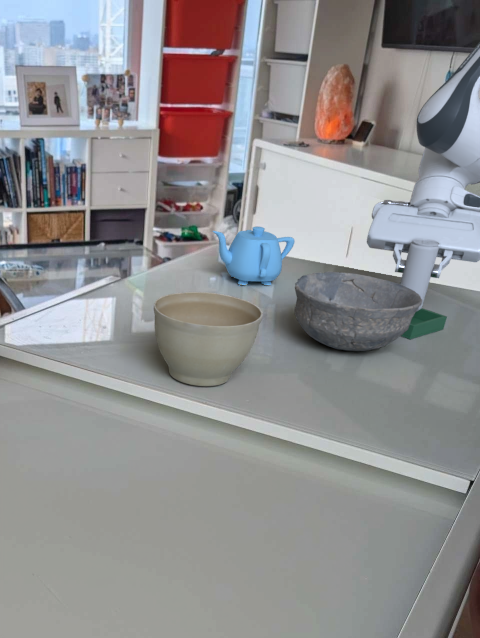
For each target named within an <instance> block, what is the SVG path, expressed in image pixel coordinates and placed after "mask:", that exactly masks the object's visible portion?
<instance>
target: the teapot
mask: <svg viewBox="0 0 480 638" xmlns="http://www.w3.org/2000/svg"><path fill="white" fill-rule="evenodd" d="M265 230H266V228H265V227H263V226H253V227H252V229H246V230H239V231H238V232H237V233H236V235H235V237H234V238H233V240H232V242H231V244H230V246H229V248H228V247H227V240H226V236H225V234H224V233H223V232H222V231H217V230H212V231H211V232H213V233H214V234H215V235H216V236H217V239H218V253H219V257H220V259H221V261H222V262H223V263H224V265H225V268H226V270H227V272H228V274H229V275H230V276H231V277H235V278H234V279H237V280H238V282H237V283H238V284H242V285H246V284H248V285H249V282H260V283H261V285H262V284H264V285H271V284H272V285H273V283H272V282H273V281H276V279H277V278H278V277H279V276H280V274H281V273H282V268H283V260H284V259H285V258H286V257H287V255H289V253H290V252H291V251H292V249H293V247H294V245H295V243H296V241H295V238H293V236H281V237H277V236H276V235H275V234H273V233H271V232H269V231H265ZM280 243H286V244H285V247H284V249H283V250H282V251H281V246H280ZM231 277H230V278H231ZM264 285H263V286H264ZM272 285H271V286H272Z"/></svg>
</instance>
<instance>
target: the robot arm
mask: <svg viewBox="0 0 480 638" xmlns="http://www.w3.org/2000/svg"><path fill="white" fill-rule="evenodd" d="M479 93H480V41H479V42H478V43H477V44H476V46H475V47H474V48H473V49H472V50H471V51H470V53H469V54H468V55H467V57H466V58H465V59H464V60H463V61H462V62H461V64H460V65H459V66H458V67H457V68H456V70H455V71H454V72H453V73H452V75H451V76H449V78H448V79H447V80H446V81H445V82H444V83H443V84H442V85H441V86H439V88H438V89H437V90H435V91H434V93H433V94H432V95H431V96H430V97H429V98H428V99H427V100H426V102H425V103H424V104H423V105H422V106H421V108H420V109H419V112H418V114H417V117H416V123H415V125H416V127H415V128H416V135H417V140H418V143H419V145H420V146H422V147H424V149H423V153H422V156H421V159H420V162H419V166H418V173H417V174H418V178H417V181H416V182H415V183H414V186H413V188H412V193H411V197H410V200H409V201H399V200H398V201H396V200H391V199H383V201H379V202H377V203H376V204H374V206H373V208H372V213H371V219H372V221H371V225H370V227H369V229H368V232H367V236H366V244H367V246H368V248H370V249H375V250H382V251H389V252H392V258H393V260H394V262H395V269H394V273H400V274H403V271H404V267H405V263H406V259H402V253H405V254H408V251H409V247H410V244H411V243H412V240H413V239H417V238H422V239H430V240H434V241H437V242H439V245H438V247H439V250H438V253H437V257H436V258H441V262H440V263H439V264H437V263H435V264H434V267H433V270H432V274H431V278H433V279H440V277H441V273H442V271H443V270H444V269H445V268H446V267H447V266H448V265H449V264H450V262H451V260H455V261H456V260H457V261H462V262H469V263H471V262H472V263H478V262H480V195H477V194H475V193H473V192H471V191H468V190H466V188H467V187H468V186H469V185H476V184H480V94H479Z"/></svg>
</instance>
